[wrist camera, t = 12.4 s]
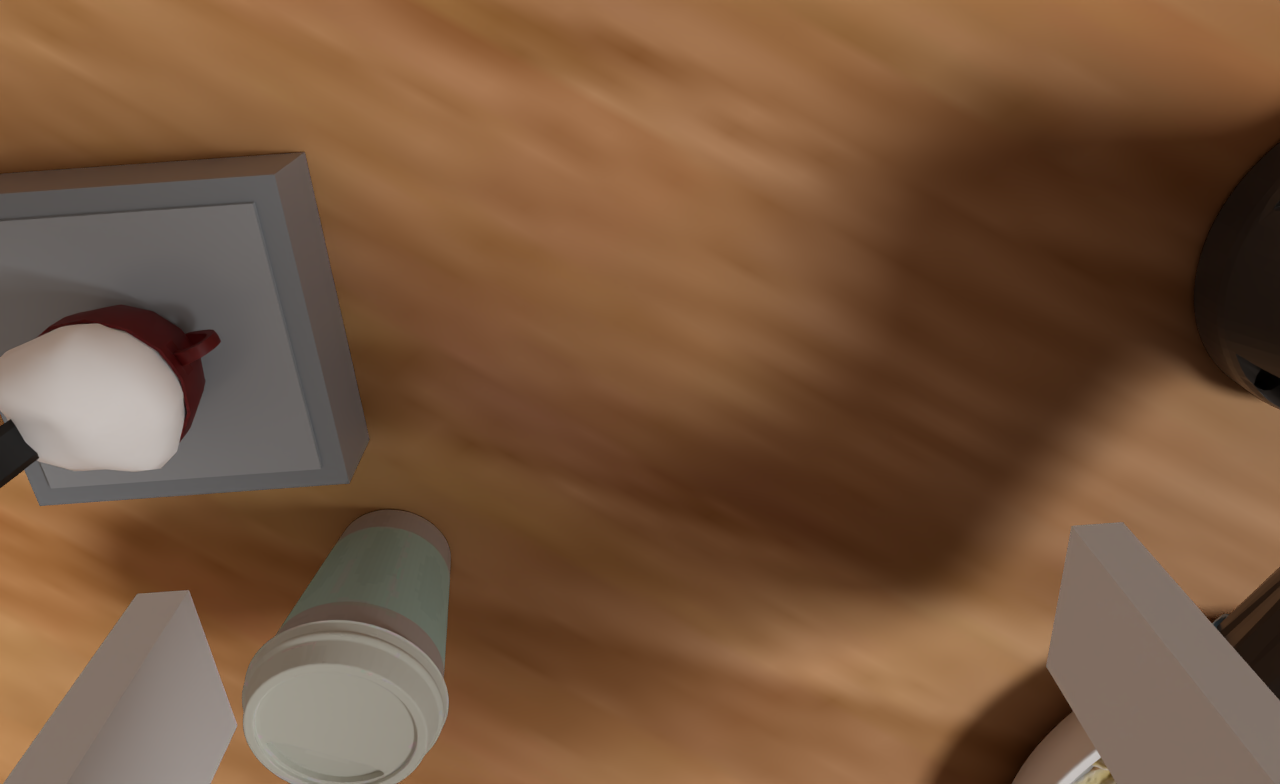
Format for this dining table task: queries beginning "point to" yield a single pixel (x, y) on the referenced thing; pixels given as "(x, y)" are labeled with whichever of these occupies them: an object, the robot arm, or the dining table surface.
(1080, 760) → the bowl
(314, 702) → the coffee cup
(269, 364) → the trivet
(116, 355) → the cocoa
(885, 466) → the dining table surface
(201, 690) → the robot arm
